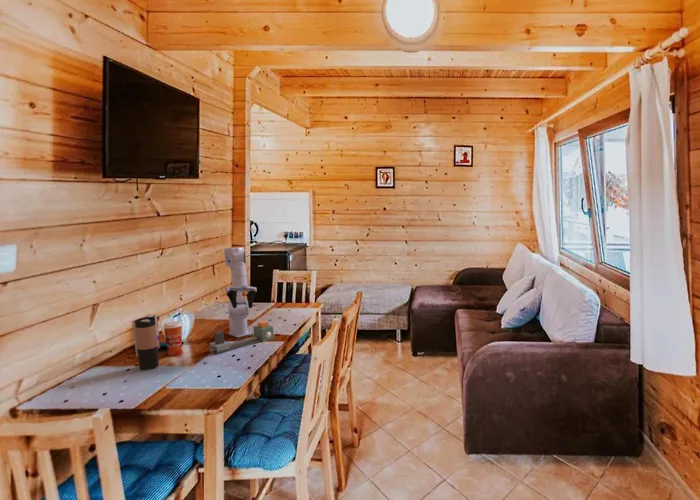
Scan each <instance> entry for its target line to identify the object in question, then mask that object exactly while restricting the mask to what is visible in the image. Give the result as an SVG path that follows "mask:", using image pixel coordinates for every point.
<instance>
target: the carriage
mask: <svg viewBox="0 0 700 500" xmlns="http://www.w3.org/2000/svg"><path fill="white" fill-rule="evenodd" d="M230 343H231V342H228V341H226V340H225V332H224V331H222V330H219V331H218V330H217V331H215V332H214V342H210V343H209V350H211V348H216V349H217V352H219V351H223V350H226V349H230Z"/></svg>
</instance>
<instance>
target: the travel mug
mask: <svg viewBox="0 0 700 500" xmlns="http://www.w3.org/2000/svg"><path fill="white" fill-rule="evenodd" d="M134 321H135V328H136V341H137V351H138V357H137V359H138V365H139V366H138V367H139V369H140V371H150V369H151V370H154V369H156V367H157V368H159V365H160V364H159V360H160V359H159V350H158V342H157V332H156V322H155V318H154V317H145V318H142V317H140V319H139V318H137V319H135V320H134Z"/></svg>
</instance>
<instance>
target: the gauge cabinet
mask: <svg viewBox="0 0 700 500" xmlns="http://www.w3.org/2000/svg"><path fill="white" fill-rule="evenodd" d="M274 335H275V334H274V326H273V325H270V324H268V327H265V328H260V327H258V324H257V325H254V326H253V337H254V336H257V337H258V340H260V342H266V341H270V340H273V339H275V336H274Z"/></svg>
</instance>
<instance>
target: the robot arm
mask: <svg viewBox="0 0 700 500" xmlns="http://www.w3.org/2000/svg"><path fill="white" fill-rule="evenodd" d="M223 253H224V254H223V255H224V263H225V266H227V267H229V269H230V273H231V282H232V285H231V286H226V287H224V292H225V294H226V296H227V298H228V299H229V302H228V317H229V321H228V326H229V332H228V335H230V336H232V337H235V338H241V337H244V336H248V335H251V334H252V332H250V331H249V330H248V316H249V315H250V309H252V308H253V305H254V299H255V297H256V294H257V292H258V291H257V289H258V288H257V287H256V286H248V277H247V267H246V263H247V255H246V252H245V248H244V247H243V246H241V247H228V248H227V247H226V248H224V250H223ZM243 293H246V294H245V296H246V298H245V297H243Z"/></svg>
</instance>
